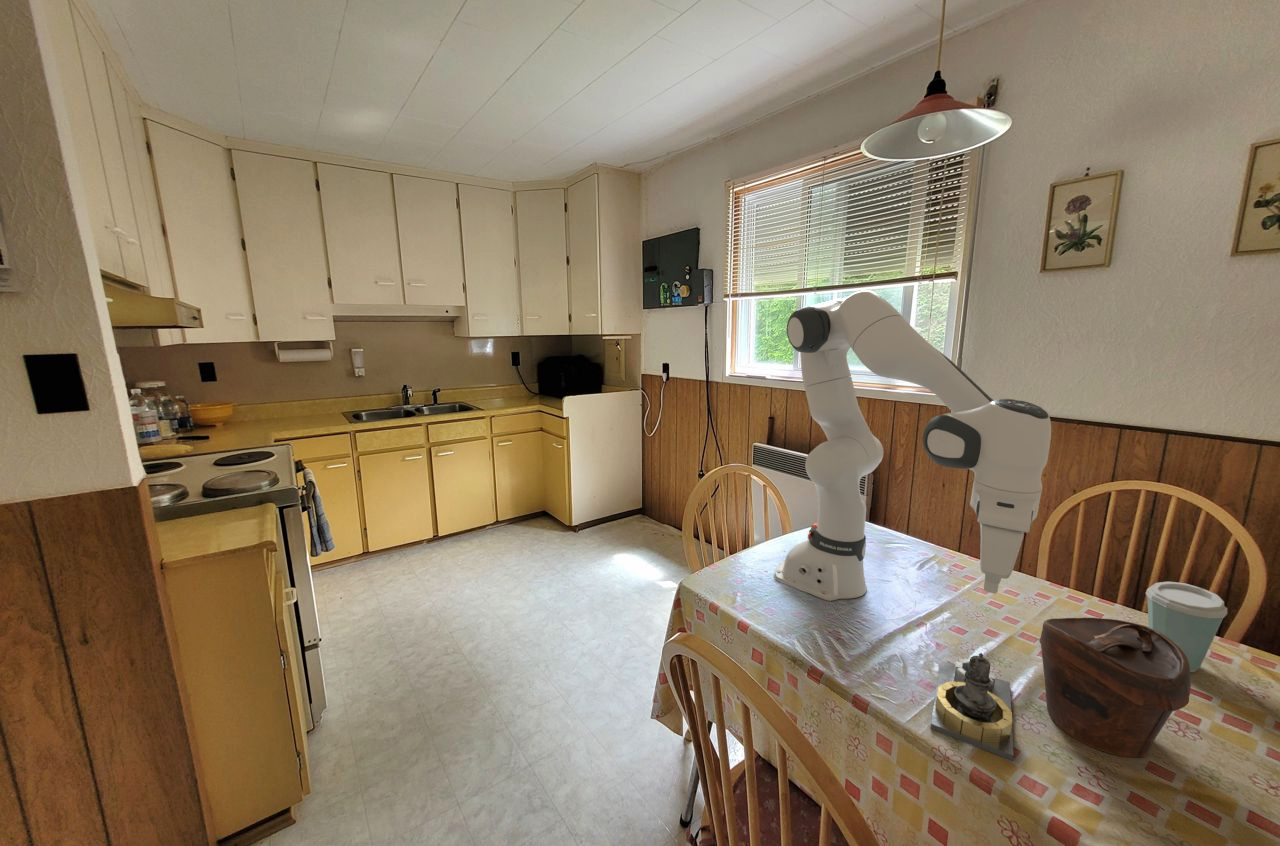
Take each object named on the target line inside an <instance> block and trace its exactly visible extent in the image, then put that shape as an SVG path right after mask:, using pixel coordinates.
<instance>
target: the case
mask: <svg viewBox="0 0 1280 846" xmlns="http://www.w3.org/2000/svg"><path fill="white" fill-rule="evenodd" d="M1038 639H1039V640H1038V641H1039V643H1040V650H1041V656H1042V665H1043V667H1042V669H1043V675H1044V676H1043V678H1044V687H1045V700H1046V709H1047V712H1048V714H1049V716H1050V718H1051V719H1052V721H1053V722H1054V723H1055V724H1056V725H1057V726H1058V727H1059V728H1060V729H1061V730H1063V731H1064V732H1065V733H1067V734H1068V735H1069V736H1070V737H1072V738H1074V739H1076V740H1078V741H1079V742H1081V743H1083V744H1084V745H1087V746H1089V747H1091V748H1093V749H1096V750H1098V751H1100V752H1101V751H1102V752H1105V753H1108V754H1110V755H1111V754H1112V755H1115V756H1119V757H1129V758H1130V757H1131V758H1132V757H1133V758H1136V757H1137V758H1143V757H1144V758H1145V757H1147V756H1148V754H1149V752H1150V749H1151V747H1152V745H1153V743H1154V741H1155V740H1156V738H1157V736H1158V735H1159V733H1160V732H1161V730H1162V729H1163V727H1164V726H1165V724H1166V723H1167V721H1168V719H1169V717H1170V716H1171V715H1172V713H1173V712H1175V711H1178V710H1181V709H1183V708H1185V707H1186V706H1187V705H1188V703H1190V696H1191V689H1192V688H1191V687H1192V685H1191V684H1192V683H1191V672H1190V666H1189V662H1188V659H1187V657H1186V655H1185V654H1184V652H1183V651H1182V650H1181V648H1180V647H1179V646H1178V645H1176V644H1175V643H1174V642H1173V641H1172V640H1170V639H1169V638H1168V637H1166V636H1165V635H1163V634H1162V633H1160V632H1158V631H1155V630H1153V629H1151V628H1149V626H1147V625H1144V624H1141V623H1140V624H1139V623H1135V622H1131V621H1126V620H1122V619H1115V618H1102V617H1101V618H1100V617H1065V618H1064V617H1063V618H1048V619H1046V620H1044V621H1043V623H1042V630H1041V634H1040V637H1039V638H1038Z"/></svg>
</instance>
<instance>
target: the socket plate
mask: <svg viewBox="0 0 1280 846" xmlns="http://www.w3.org/2000/svg"><path fill="white" fill-rule="evenodd" d="M969 661H970V659H967V658H961V659H957V660H956V661H955V664H954V663H951V662H947V661H944V660H940V661H939V669H938V674H937V682H936V687H935V688H936V689H935V695H934V700H933V701H934V703H933V708H932V715H931V720H930V722H931V723H930V730H933V731H936V732H938V733H940V734H943V735H946V736H947V737H950V738H953V739H955V740H959V741H961V742H963V743H966V744H969V745H971V746H973V747H976V748H979V749H982V750H984V751H987V752H989V753H990V754H991V753H992V754H994V755H996V756H997V755H998V756H999V757H1002V758H1004V759H1007V760H1010V761H1011V762H1013V761H1014V756H1015V755H1014V738H1013V737H1014V736H1013V712H1012V702H1011V701H1012V700H1011V698H1012V697H1011V683H1010V681H1007V680H1003V679H1001V678H998V677H996V673H995V672H994V670H993V669H992V668H990V673H989V678H990V680H991V684H990V685H988V691H987V693H988V694H989V695H990V696H991V697H992V698H993V699H994V700H995V702H996V709H995V710H993V712H992V713H991V714H990V715H989V717H990V719H991V723H986V722H979V721H976V720H974V719H971V718H968V717H965V716H964V715H962V714H961V713H959V712H958V711H957V710H955V709H954V707H955V706H956V705H958V702H957V699H956V696H955V693H954V690H955V688H956V687H958V686H961V685H966V679H967V678H966V676H965V672H966V671H968V668H969Z"/></svg>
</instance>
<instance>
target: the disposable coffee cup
mask: <svg viewBox="0 0 1280 846" xmlns="http://www.w3.org/2000/svg"><path fill="white" fill-rule="evenodd" d="M1145 595H1146V599H1147V616H1148V617H1147V619H1148V623H1147V624H1148V627H1149V628H1151V629H1153V630H1155V631H1158V632H1160V633H1162V634H1163V635H1165V636H1166V637H1168V638H1169V639H1170V640H1172V641H1173V642H1174V643H1175V644H1176V645H1178V646H1179V647H1180V648H1181V650H1182V651H1183V652H1184V654H1185V655H1186V657H1187V659H1188V662H1189V666H1190V673H1196V672H1197V670H1199V669H1200V668H1201V666H1202V665H1203V662H1204V660H1205V659H1206V658H1205V657H1206V655H1207V653H1208V651H1209V649H1210V648H1211V646H1212V642H1213V640H1214V639H1215V636H1216V634H1217V632H1218V631H1219V628H1220V626H1221V624H1222V621H1223V619H1225V617H1226V616H1227V615H1228V607H1226V605H1225V601H1224V600H1223V599H1222V598H1221V597H1220V596H1219V595H1218V594H1216V593H1214V592H1212V591H1209V590H1207V589H1205V588H1202V587H1199V586H1195V585H1192V584H1188V583H1185V582H1184V583H1183V582H1178V581H1177V582H1176V581H1162V582H1161V581H1160V582H1155V583H1154V584H1153V585H1150V586H1149V587H1148V588H1147V589H1146V592H1145Z"/></svg>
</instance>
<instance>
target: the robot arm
mask: <svg viewBox="0 0 1280 846" xmlns="http://www.w3.org/2000/svg"><path fill="white" fill-rule="evenodd" d="M786 334H787V339H788V341H789V344H790V345H791V346H792V348H793V349H794V350H795V351H797V352H799V353H800V367H801V377H802V382H803V387H804V391H805V395H806V399H807V404H808V408H809V412H810V416H811V418H812V419H813V421H815V422H816V423H817V424H819V426H820V428H821V429H822V431H823V433H824V436H825V437H826V439H827V441H826V440H825V441H824V442H821V443H819V444H818V445H817V446H815V448H813V449H812V450H811V451H810V452H809V453H808V455H807V456H806V459H805V462H804V463H805V471H806V473H807V476H808V477H809V479H810V480H811V481H812V483H814V485H815V489H816V495H817V500H818V508H817V522H814V523H813V524H812V525H811V527H810V529H809V531H808V534H807V540H805V541H802V542H800V543H798V544H796V545H794V546H793V547H792V548H791V549H790V550H789V551H788V552H787V554H786V557H785V559H784V560H782V561H781V562H779V564H778V565H777V566H776V568H775V571H774V578H775V580H776V581H778V582H779V583H783V584H785V585H787V586H790V587H792V588H794V589H798V590H800V591H803V592H805V593H808V594H809V595H812V596H815V597H818V598H820V599H821V600H825V601H829V602H831V601H837V600H839V599H843V600H844V599H854V598H856V599H857V598H859V597H861V596H863V595H865V594H866V593H867V591H868V589H867V588H868V587H867V584H866V579H865V578H866V577H865V569H864V558H865V556H866V547H867V541H866V540H867V536H866V535H865V529H866V516H867V506H866V503H865V502H864V501H863V500H862V495H861V491H860V489H861V488H860V482H861V479H862V478H863V477H864V476H866V475H868V474H871V473H872V472H874V471H875V469H877V468H878V467H879V465H880V463H882V460H883V457H884V447H883V444H882V443H881V441H880V440H879V439H878V438H877V437H876V436H875V435H874V434H873V432H872V431H871V429H870V427H869V425H868V423H867V421H866V420H865V417H864V415H863V414H862V410H861V408H860V405H859V402H858V399H857V395H856V391H855V387H854V382H853V379H852V375H851V370H850V368H849V363H848V359H847V356H848V352H849V349H850V348H851V350H852V351H853V352H854V354H855V355H856V357H857V358H858V360H859V361H860V362H861V363H862V364H863V366H865V367H866V369H868V370H869V371H870V372H872V374H875V375H876V376H879V377H882V378H887V379H891V380H892V379H893V380H896V381H897V380H898V381H902V382H907V383H911V384H915V385H918V386H920V387H922V388H925V389H927V390H929V391H930V392H931V393H933V394H934V395H935V396H936V397H937V398H938V399H939V400H940V401H941V402H942V403H943V404H944V405H945V406H946V407H947V408H948V409H949V410H950V411H951V412H948V413H943V414H940V415H936V416H934V417H933V418H931V419H930V420H929V421H928V422H927V423H926V425H925V427H924V430H923V432H922V433H923V434H922V446H923V449H924V452H925V454H926V455H927V456H928V458H929V459H930V460H931V461H933V463H934V464H936V465H938V466H940V467H944V468H951V469H961V470H963V469H964V470H965V469H966V470H970V471H972V472H973V473H974V477H973V478H974V479H973V483H972V490H971V497H970V503H969V504H970V507H971V508H972V509H973V511H974V513H975V514H976V515H975V516H976V519H977V522H978V523H979V527H980V548H979V549H980V555H979V558H980V559H979V561H980V562H979V564H980V565H979V566H980V571H981V573H982V574H984V583H983V591H985V592H986V593H990V594H994V595H996V594H997V593H998V590H999V585H1000V582H1001V580H1002V579H1005V580H1007V579H1009V578H1010V576H1011V575H1012V572H1013V570H1014V567H1015V564H1016V561H1017V560H1018V559H1017V558H1018V556H1019V552H1020V549H1021V544H1022V542H1023V539H1024V535H1025V534H1024V533H1030V530H1031V527H1032V522H1033V521H1034V520H1036V518H1038V517H1037V516H1038V513H1039V507H1040V506H1039V505H1040V502H1041V496H1042V491H1043V482H1042V473H1043V470H1044V469H1045V467H1046V466H1047V464H1048V460H1049V456H1050V455H1049V454H1050V450H1051V449H1050V448H1051V438H1052V422H1051V418H1050V415H1049V413H1048V412H1047V410H1045V409H1043V407H1041V406H1039V405H1037V404H1034V403H1032V402H1028V401H1025V400H1018V399H1014V398H1013V399H1012V398H997V399H993V398H991V397H990V396H989V395H988V394H987V393H986V392H985V391H984V390H983V389H982V388H981V387H980V386H979V385H977V384H976V382H974V380H972V379H971V378H970V377H969V375H968V374H966V373H965V372H964V371H963V370H962V369H961V368H960V367H959V366H958V365H956V363H954V362H953V361H952V360H951V359H950V358H948V357H947V356H946V355H945V354H944V353H942V352H941V351H940V350H938V349H937V348H936V347H934V346H933V345H932V344H930V342H928V341H927V340H926V339H925V338H924V337H923V336H921V334H920V333H918V332H917V330H916V329H915V328H914V327H913V326H912V325H911V324H910V323H909V322H908V321H907V320H906V319H905V318H904V316H902V314H901V313H900V312H899V310H897V309H896V308H895V307H894V306H893V305H892V304H891V303H889V302H888V300H886V299H885V298H884V297H882V296H881V295H879V294H878V293H876V292H874V291H872V290H859V291H856V292H853V293H852V294H850V295H849V296H847V297H845V298H837V299H831V300H829V301H825V302H821V303H817V304H814V305H806V306H804V307H800V308H798V309H796V310H795V311H793V312H792V313H791V315H790V316H789V318H788V321H787V324H786Z"/></svg>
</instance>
